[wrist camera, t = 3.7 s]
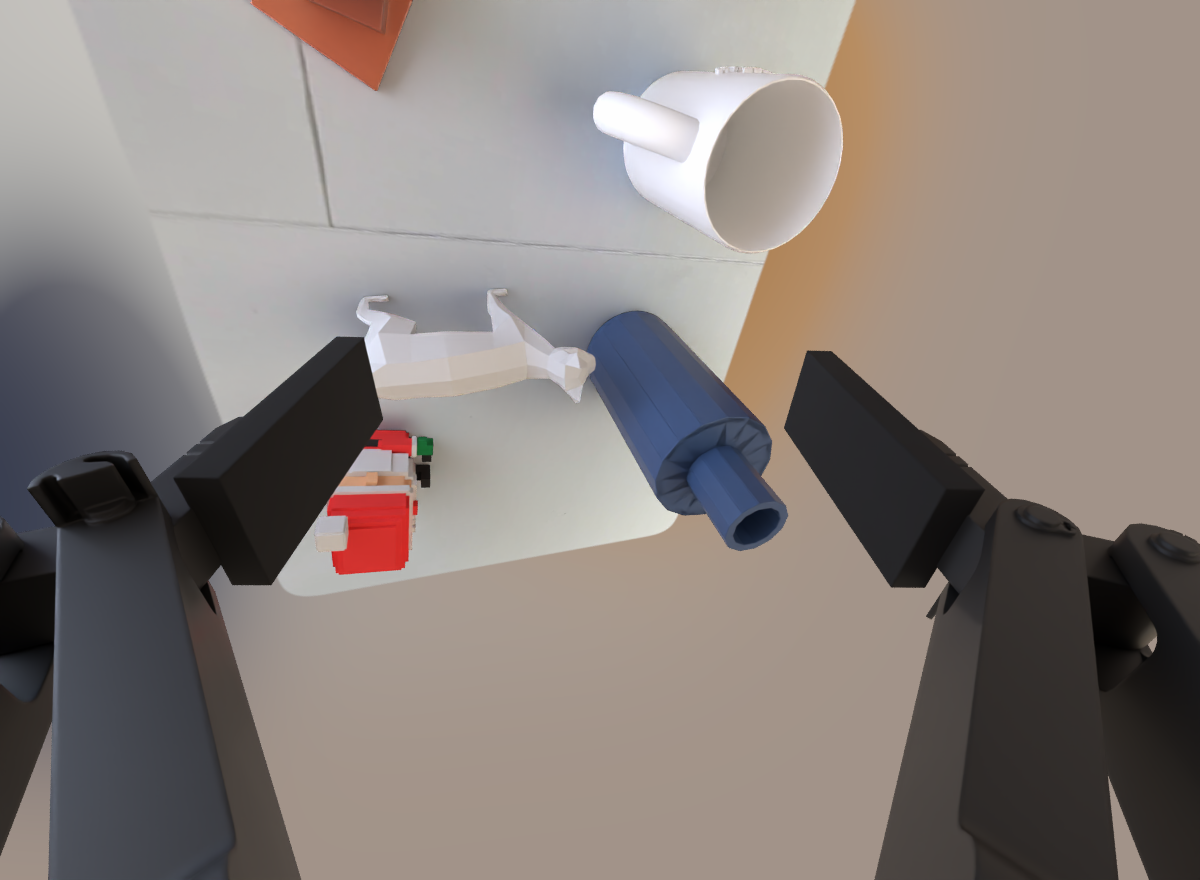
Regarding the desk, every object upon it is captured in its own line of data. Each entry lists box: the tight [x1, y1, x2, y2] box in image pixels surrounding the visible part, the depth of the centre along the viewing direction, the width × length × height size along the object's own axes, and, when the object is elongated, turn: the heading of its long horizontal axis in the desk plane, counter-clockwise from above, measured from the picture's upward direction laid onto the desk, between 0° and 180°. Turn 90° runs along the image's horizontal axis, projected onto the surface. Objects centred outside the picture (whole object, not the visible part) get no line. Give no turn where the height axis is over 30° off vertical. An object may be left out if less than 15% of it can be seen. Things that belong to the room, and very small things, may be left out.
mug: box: [593, 67, 843, 253], centre depth 28 cm, size 8×12×12 cm
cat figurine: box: [356, 288, 596, 404], centre depth 30 cm, size 4×20×14 cm, turn 88°
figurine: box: [314, 430, 433, 575], centre depth 37 cm, size 8×7×12 cm
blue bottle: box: [587, 311, 788, 551], centre depth 35 cm, size 8×8×21 cm
